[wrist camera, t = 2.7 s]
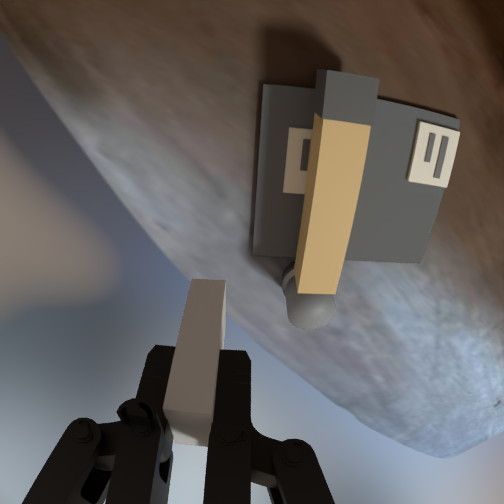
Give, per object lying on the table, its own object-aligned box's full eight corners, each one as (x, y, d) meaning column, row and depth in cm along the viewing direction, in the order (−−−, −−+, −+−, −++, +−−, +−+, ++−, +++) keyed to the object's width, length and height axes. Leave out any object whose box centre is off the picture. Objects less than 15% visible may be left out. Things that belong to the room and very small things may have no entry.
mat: (263, 84, 20) (263, 84, 20) (457, 119, 21) (460, 120, 20) (252, 252, 28) (252, 255, 28) (418, 261, 28) (420, 263, 28)
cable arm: (311, 68, 18) (320, 68, 16) (368, 77, 18) (385, 80, 16) (282, 304, 29) (284, 329, 27) (325, 305, 29) (330, 330, 27)
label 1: (288, 126, 22) (289, 128, 21) (341, 131, 22) (344, 134, 21) (282, 189, 25) (283, 193, 24) (332, 193, 25) (334, 197, 24)
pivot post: (284, 257, 28) (285, 265, 27) (333, 259, 28) (336, 267, 27) (279, 295, 31) (280, 304, 30) (324, 297, 31) (326, 305, 30)
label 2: (416, 119, 21) (421, 122, 20) (455, 130, 21) (460, 132, 21) (404, 178, 24) (408, 181, 23) (442, 184, 24) (447, 188, 23)
